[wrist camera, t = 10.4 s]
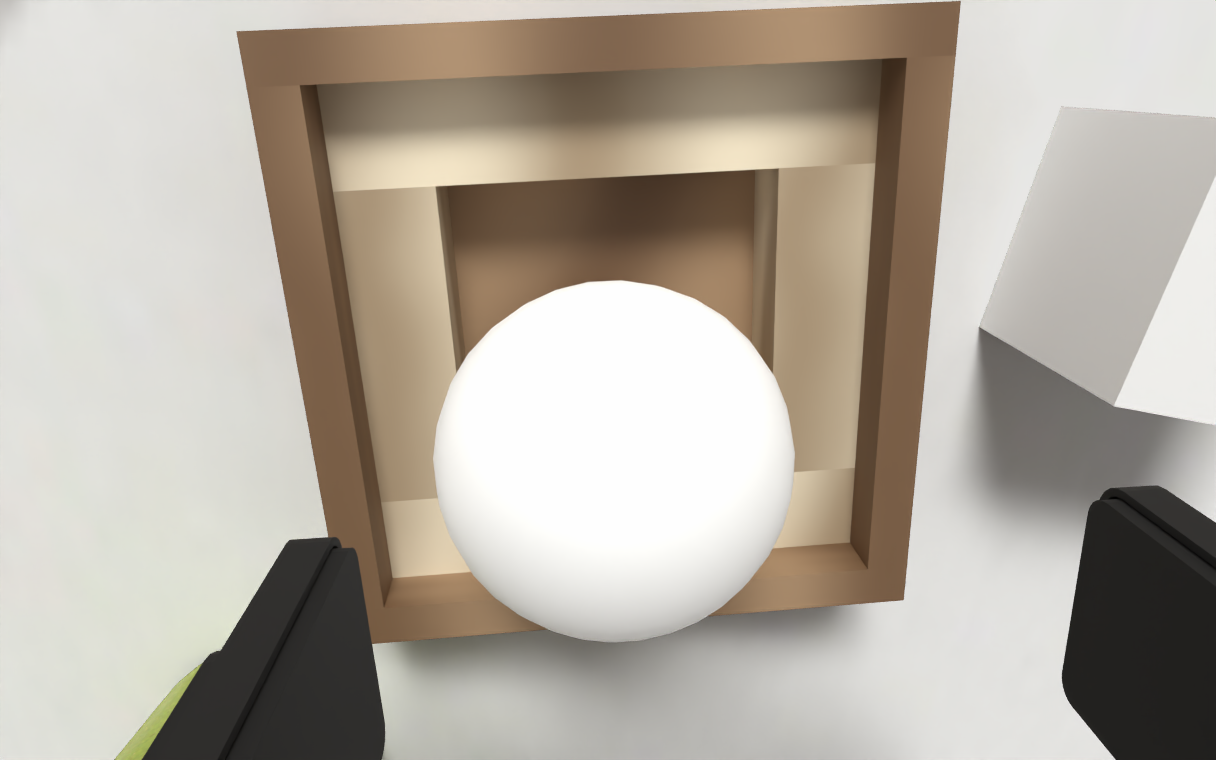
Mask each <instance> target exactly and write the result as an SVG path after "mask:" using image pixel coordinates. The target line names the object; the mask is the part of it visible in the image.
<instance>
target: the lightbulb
mask: <svg viewBox="0 0 1216 760" xmlns="http://www.w3.org/2000/svg"><path fill="white" fill-rule="evenodd" d="M794 459H795V451H794V445H793V439H792V433H791V426H790V421H789V415H788V410H787V406H786V403H785V401H784V398H783V396H782V393H781V391H780V388H779V386H778V384H777V381H776V379H775V376H774V375H773V374H772V372H771V371H770V369H769V368H768V366H767V365H766V363H765V362H764V360H763V359H762V357H761V356H760V355H759V353H758V352H757V350H756V349H755V347H754V346H753V345H752V343H751V342H750V341H749V339H748V338H746V337H745V336H744V335H743V334H742V333H741V332H740V331H739V330H738V329H737V328H736V327H735V326H734V325H733V324H732V323H731V322H729V321H728V320H727V319H726V318H725V317H724V316H722V315H721V314H719V313H718V312H716V311H714V310H713V309H711V308H709V307H708V306H706V305H704V304H703V303H701V302H699V301H698V300H696V299H694V298H691V297H689V296H686V295H683V294H680V293H677V292H675V291H672V290H669V289H666V288H663V287H660V286H656V285H650V284H643V283H636V282H629V281H623V280H619V281H597V282H586V283H582V284H578V285H574V286H570V287H565V288H561V289H557V290H555V291H552V292H550V293H548V294H546V295H544V296H541V297H539V298H537V299H535V300H533V301H531V302H528V303H526V304H525V305H523V306H522V307H520V308H519V309H517V310H516V311H515V312H513V313H512V314H510V315H509V316H508V317H506V318H505V319H504V320H502V321H501V322H499V323H498V324H497V325H495V326H494V327H492V328H491V329H490V330H489V332H488V333H487V334H486V335H485V336H484V337H483V338H482V339H481V340H480V341H479V342H478V343H477V345H476V346H475V347H474V348H473V349H472V350H471V351H470V352H469V353H468V355H467V356H466V358H465V360H464V361H463V363H462V365H461V366H460V368H459V370H458V371H457V373H456V375H455V376H454V378H453V380H452V381H451V384H450V386H449V389H448V392H447V395H446V398H445V401H444V404H443V407H442V410H441V413H440V416H439V420H438V423H437V427H436V436H435V446H434V455H433V463H434V472H435V481H436V489H437V496H438V501H439V507H440V509H441V512H442V515H443V518H444V521H445V524H446V527H447V530H448V533H449V535H450V537H451V539H452V541H453V542H454V544H455V546H456V548H457V549H458V551H459V553H460V554H461V556H462V558H463V559H464V561H465V563H466V564H467V566H468V567H469V569H470V571H471V572H472V574H473V575H474V576H475V578H476V579H477V580H478V581H479V582H480V583H481V584H482V585H483V586H484V587H485V588H486V589H487V590H488V591H489V592H490V593H491V595H492V596H493V597H495V598H496V599H497V600H499V601H500V602H502V603H503V604H504V605H506V606H507V607H508V608H510V609H511V610H513V611H514V612H515V613H517V614H518V615H520V616H522V617H524V618H526V619H528V620H529V621H532V622H534V623H536V624H538V625H540V626H542V627H545V628H547V629H549V630H551V631H553V632H555V633H559V634H563V635H567V636H570V637H574V638H578V639H582V640H590V641H601V642H626V641H640V640H645V639H650V638H654V637H658V636H662V635H666V634H670V633H673V632H675V631H678V630H680V629H682V628H685V627H687V626H690V625H692V624H694V623H697V622H699V621H700V620H702V619H703V618H705V617H707V616H708V615H710V614H711V613H713V612H715V611H716V610H718V609H719V608H721V607H722V606H723V605H725V604H726V603H727V602H728V601H729V600H730V599H731V598H732V597H733V596H735V595H736V594H737V593H738V592H739V591H740V590H741V589H742V588H743V587H744V586H745V585H746V584H747V583H748V582H749V581H750V579H751V578H752V577H753V575H754V574H755V573H756V572H757V570H758V569H759V568H760V566H761V565H762V564H763V563H764V561H765V560H766V559H767V557H768V556H769V554H770V552H771V551H772V549H773V547H774V545H775V543H776V541H777V539H778V537H779V535H780V533H781V531H782V529H783V525H784V522H785V518H786V515H787V511H788V507H789V504H790V500H791V494H792V488H793V477H794Z"/></svg>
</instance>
